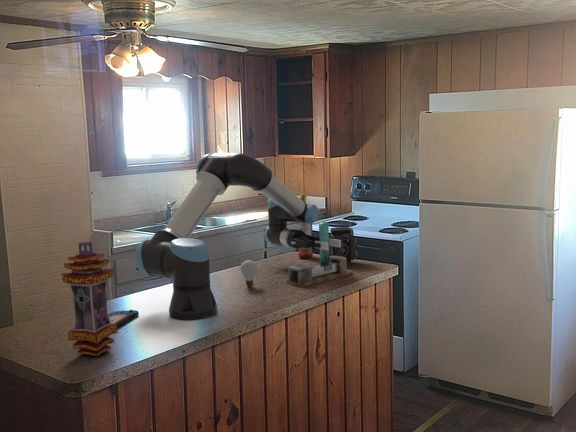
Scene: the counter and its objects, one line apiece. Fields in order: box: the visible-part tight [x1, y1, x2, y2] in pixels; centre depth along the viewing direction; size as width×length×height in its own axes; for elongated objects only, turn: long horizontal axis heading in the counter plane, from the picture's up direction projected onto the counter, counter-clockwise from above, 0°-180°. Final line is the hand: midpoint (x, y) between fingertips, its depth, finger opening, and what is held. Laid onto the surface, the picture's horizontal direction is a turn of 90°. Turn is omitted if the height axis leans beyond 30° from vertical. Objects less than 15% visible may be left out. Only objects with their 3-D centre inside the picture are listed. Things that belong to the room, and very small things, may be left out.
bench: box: [286, 255, 354, 288], centre depth 239 cm, size 26×9×7 cm, turn 130°
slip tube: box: [311, 221, 339, 277], centre depth 239 cm, size 18×4×19 cm, turn 130°
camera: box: [329, 226, 358, 266], centre depth 262 cm, size 10×10×15 cm
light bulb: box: [240, 259, 258, 288], centre depth 230 cm, size 6×6×10 cm
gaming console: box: [108, 309, 139, 329], centre depth 191 cm, size 24×2×10 cm
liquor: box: [295, 193, 314, 260], centre depth 277 cm, size 7×7×28 cm
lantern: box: [61, 241, 118, 357], centre depth 165 cm, size 10×9×30 cm
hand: (333, 245), depth 236 cm, fingers open, 6 cm apart
